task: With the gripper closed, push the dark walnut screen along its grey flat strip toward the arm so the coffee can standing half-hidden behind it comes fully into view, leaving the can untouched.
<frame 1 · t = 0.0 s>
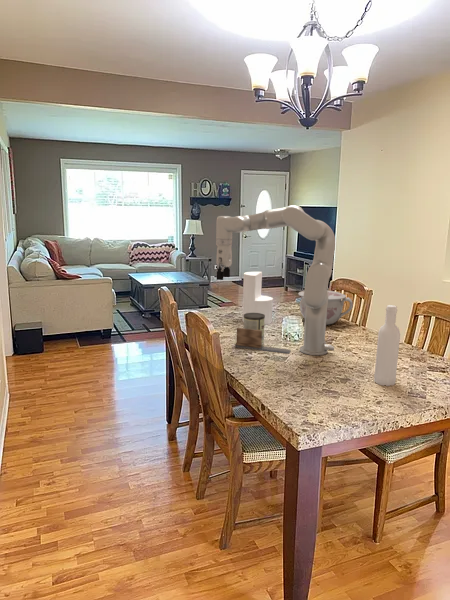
hand: (223, 278, 216), 31 cm above the table, tool pointing down, fingers open, 9 cm apart
bottle: (384, 382, 172), on the table
grey flat strip: (262, 349, 209), on the table
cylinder: (257, 321, 262), on the table
screen: (249, 337, 211), point 5 cm above the table, slide at 0.0 cm
chamber pot: (320, 322, 262), on the table
coffee can: (253, 343, 219), on the table
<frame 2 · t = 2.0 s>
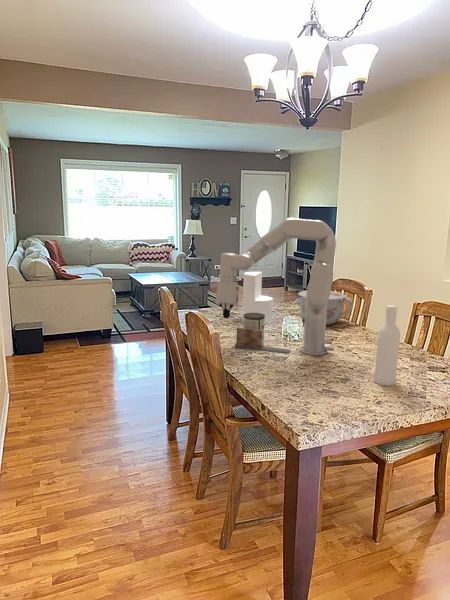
hand: (226, 317, 212), 13 cm above the table, tool pointing down, fingers closed
nothing on the table moved.
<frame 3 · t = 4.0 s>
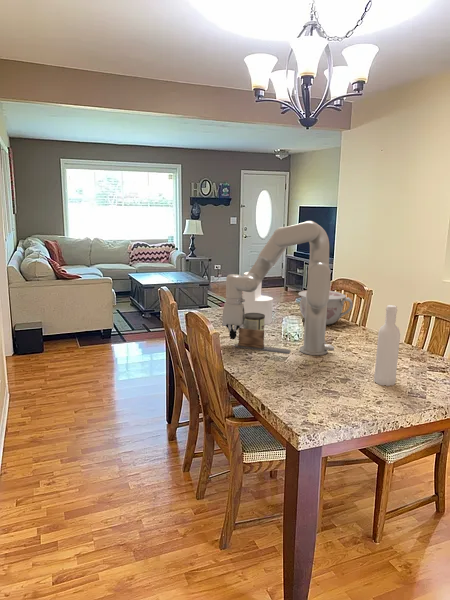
hand: (232, 338, 213), 4 cm above the table, tool pointing down, fingers closed
screen: (251, 337, 210), point 5 cm above the table, slide at 1.1 cm, touching gripper
everything else where it was.
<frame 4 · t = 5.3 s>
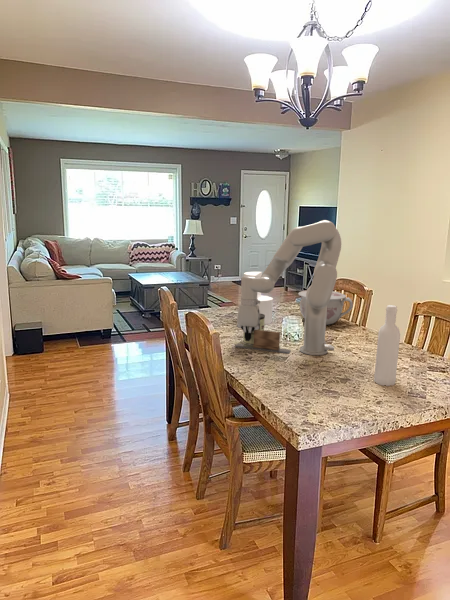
hand: (247, 340, 211), 4 cm above the table, tool pointing down, fingers closed
screen: (266, 339, 208), point 5 cm above the table, slide at 8.5 cm, touching gripper
everything else where it was.
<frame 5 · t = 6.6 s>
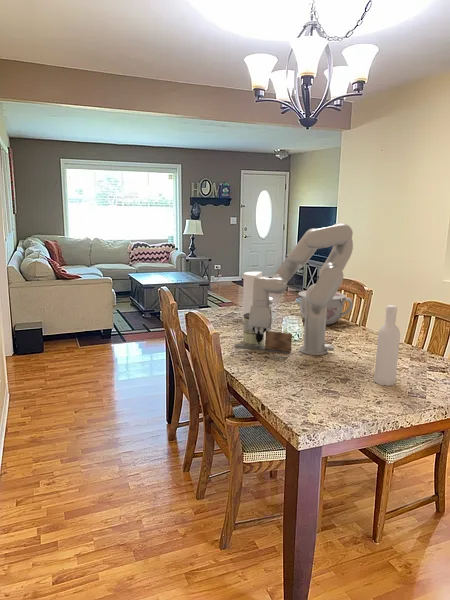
hand: (259, 341, 209), 4 cm above the table, tool pointing down, fingers closed
screen: (278, 340, 206), point 5 cm above the table, slide at 14.0 cm, touching gripper
everything else where it was.
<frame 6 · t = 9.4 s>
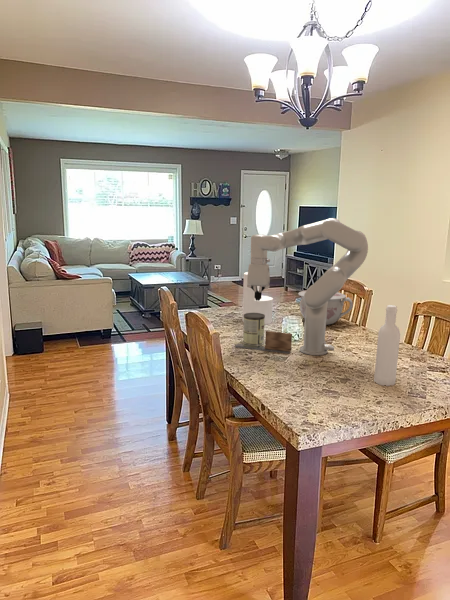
hand: (257, 300, 212), 22 cm above the table, tool pointing down, fingers closed
screen: (278, 340, 206), point 5 cm above the table, slide at 14.0 cm
everything else where it was.
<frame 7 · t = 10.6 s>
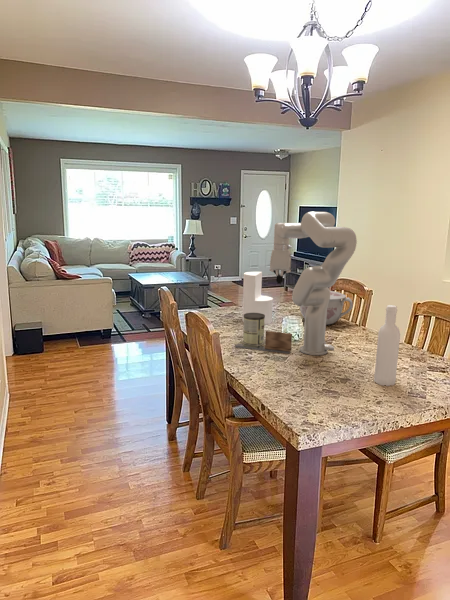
hand: (279, 283, 230), 27 cm above the table, tool pointing down, fingers closed
nothing on the table moved.
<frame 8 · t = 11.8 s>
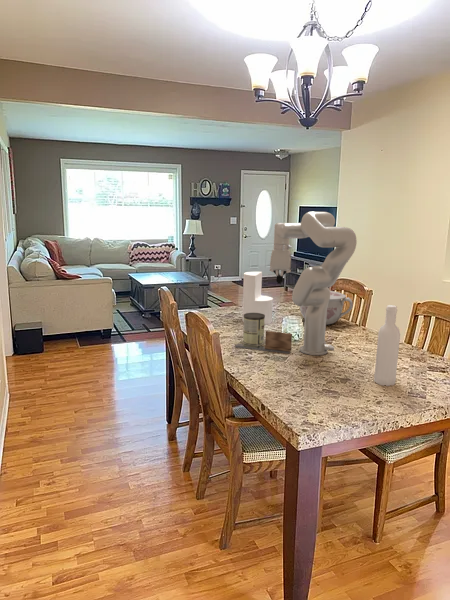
hand: (279, 283, 230), 27 cm above the table, tool pointing down, fingers closed
nothing on the table moved.
at the end: screen slide at 14.0 cm; coffee can moved 0.2 cm from its start; coffee can tilted 0° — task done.
